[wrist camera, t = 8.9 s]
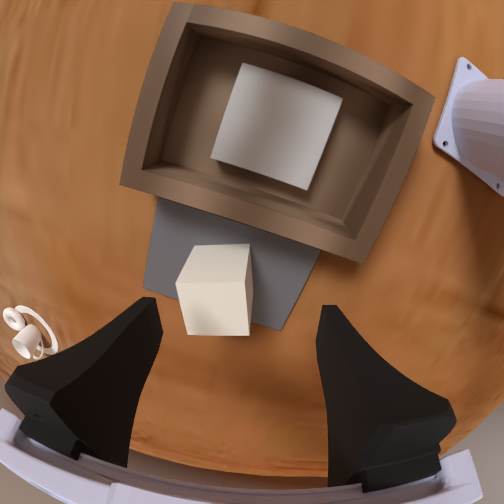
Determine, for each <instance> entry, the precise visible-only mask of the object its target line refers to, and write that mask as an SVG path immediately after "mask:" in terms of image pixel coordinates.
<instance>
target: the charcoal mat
mask: <svg viewBox="0 0 504 504" xmlns="http://www.w3.org/2000/svg"><path fill="white" fill-rule="evenodd" d="M227 244H250V252H251V267H252V281H253V300H252V311H251V323H255V324H259V325H262V326H266V327H269V328H273V329H277V330H281V329H282V327H283V325H284V323H285V321H286V319H287V317H288V315H289V314H290V312H291V310H292V308H293V306H294V304H295V302H296V300H297V298H298V296H299V294H300V292H301V290H302V288H303V286H304V284H305V282H306V280H307V278H308V276H309V274H310V272H311V270H312V268H313V266H314V264H315V262H316V260H317V258H318V256H319V254H320V252H321V249H318V248H315V247H313V246H310V245H307V244H304V243H301V242H298V241H295V240H292V239H289V238H286V237H283V236H280V235H277V234H274V233H271V232H268V231H265V230H262V229H259V228H256V227H253V226H250V225H247V224H244V223H241V222H238V221H235V220H232V219H229V218H226V217H222V216H219V215H216V214H213V213H210V212H207V211H204V210H201V209H197V208H194V207H191V206H188V205H185V204H181V203H178V202H175V201H172V200H168V199H165V198H162V197H159V199H158V204H157V209H156V214H155V219H154V224H153V229H152V235H151V240H150V246H149V252H148V258H147V265H146V271H145V278H144V286H143V288H145V289H148V290H151V291H154V292H156V293H159V294H162V295H165V296H168V297H171V298H174V299H177V300H179V297H178V293H177V288H176V284H175V283H176V281H177V279H178V277H179V275H180V273H181V271H182V269H183V267H184V265H185V263H186V261H187V259H188V257H189V255H190V253H191V251H192V249H193V248H194V246H199V245H227Z"/></svg>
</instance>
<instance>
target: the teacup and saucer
mask: <svg viewBox="0 0 504 504" xmlns="http://www.w3.org/2000/svg"><path fill="white" fill-rule="evenodd" d="M23 312H26V313H29V314H31V315H33V316H34V317H35V318H37V319H38V320H39V321H40V322H41V323H42V324H43V325H44V327H45V328H46V329H47V331H48V332H49V334H50V336H51V339H52V346H51V347H50V348H44V347H43V342H42V338H41V336H42V335H41V332H40V330H39V329H38V328H37V327H36V326H35V325H33V324H30V325H27V326H26V327H25V320H24V318H23V316H22V315H21V313H23ZM3 317H4V319H5V321H6V323H7V324H8V325H9V326H10V327H11V328H13V329H14V330H17V331H20V332H19V333H18V334H17V335H16V336H15V338H14V339H13V340H12V343H13V345H14V347H15V349H16V350H17V351H18V352H19V353H20V354H21V355H22V356H23V357H25V358H28V359H29V358H30V357H31V356H32V357H33V358H34V359H36V360H39V359H41V358H42V356H43V353H46V354H50V355H53V354H56V353H57V352H58V348H59V346H58V341H57V339H56V337H55V335H54V333H53V331H52V330H51V328H50V327H49V326H48V324H47V323H46V322H45V321H44V320H43V319H42V318H41V317H40V316H39V315H38V314H37V313H36V312H34V311H33V310H31V309H30V308H28V307H25V306H17V307H16V308H15V309H14V308H10V307H8V308H6V309H5V310H4V312H3ZM39 342H41V345H42V347H41V346H39V345H38V344H39ZM36 349H38V350H39V351H41V352H42V354H41V356H40V357H36V356H35V355H34V351H35V350H36Z"/></svg>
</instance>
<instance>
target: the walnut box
mask: <svg viewBox="0 0 504 504" xmlns="http://www.w3.org/2000/svg"><path fill="white" fill-rule="evenodd" d="M434 100H435V97H434V96H433V95H431V94H430V93H428V92H427V91H425V90H424V89H422V88H421V87H419V86H418V85H416V84H415V83H413V82H411V81H410V80H408V79H406V78H405V77H403V76H401V75H400V74H398V73H396V72H394V71H393V70H391V69H389V68H387V67H385V66H384V65H382V64H380V63H378V62H376V61H374V60H372V59H370V58H368V57H366V56H364V55H362V54H360V53H358V52H356V51H354V50H352V49H349V48H347V47H345V46H343V45H340V44H338V43H336V42H333V41H331V40H328V39H326V38H323V37H321V36H318V35H316V34H313V33H310V32H307V31H305V30H302V29H299V28H296V27H293V26H290V25H287V24H283V23H280V22H277V21H273V20H270V19H266V18H262V17H259V16H255V15H251V14H246V13H242V12H237V11H233V10H228V9H222V8H217V7H211V6H204V5H197V4H190V3H181V2H173V4H172V7H171V9H170V11H169V14H168V16H167V18H166V21H165V23H164V26H163V28H162V31H161V33H160V36H159V38H158V41H157V44H156V46H155V49H154V52H153V55H152V57H151V60H150V63H149V66H148V69H147V72H146V76H145V79H144V82H143V85H142V89H141V92H140V95H139V99H138V103H137V106H136V110H135V114H134V118H133V122H132V126H131V130H130V134H129V139H128V143H127V148H126V152H125V157H124V162H123V168H122V173H121V179H120V185H122V186H125V187H129V188H132V189H135V190H139V191H142V192H145V193H149V194H152V195H155V196H159V197H162V198H165V199H168V200H172V201H175V202H178V203H181V204H185V205H188V206H191V207H194V208H197V209H201V210H204V211H207V212H210V213H213V214H216V215H219V216H222V217H226V218H229V219H232V220H235V221H238V222H241V223H244V224H247V225H250V226H253V227H256V228H259V229H262V230H265V231H268V232H271V233H274V234H277V235H280V236H283V237H286V238H289V239H292V240H295V241H298V242H301V243H304V244H307V245H310V246H313V247H315V248H318V249H321V250H324V251H327V252H330V253H333V254H336V255H338V256H341V257H344V258H347V259H350V260H353V261H355V262H358V263H361V264H363V263H364V261H365V259H366V257H367V255H368V254H369V252H370V250H371V248H372V246H373V244H374V242H375V240H376V238H377V236H378V234H379V232H380V230H381V228H382V226H383V224H384V222H385V220H386V218H387V216H388V214H389V212H390V210H391V208H392V206H393V203H394V201H395V199H396V197H397V195H398V192H399V190H400V188H401V186H402V183H403V181H404V179H405V177H406V174H407V172H408V170H409V167H410V165H411V162H412V160H413V157H414V155H415V152H416V150H417V147H418V145H419V142H420V140H421V137H422V134H423V132H424V129H425V126H426V123H427V121H428V118H429V115H430V112H431V109H432V106H433V103H434Z"/></svg>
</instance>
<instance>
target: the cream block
mask: <svg viewBox="0 0 504 504" xmlns="http://www.w3.org/2000/svg"><path fill="white" fill-rule="evenodd" d="M175 284H176V288H177V293H178V297H179V301H180V305H181V309H182V314H183V318H184V322H185V325H186V329H187V333H188V335H218V336H249V335H250V323H251V311H252V300H253V281H252V267H251V252H250V244H227V245H199V246H194V248H193V249H192V251H191V253H190V255H189V257H188V259H187V261H186V263H185V265H184V267H183V269H182V271H181V273H180V275H179V277H178V279H177V281H176V283H175Z"/></svg>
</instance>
